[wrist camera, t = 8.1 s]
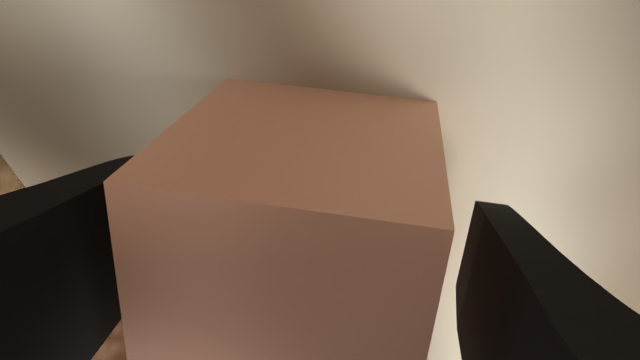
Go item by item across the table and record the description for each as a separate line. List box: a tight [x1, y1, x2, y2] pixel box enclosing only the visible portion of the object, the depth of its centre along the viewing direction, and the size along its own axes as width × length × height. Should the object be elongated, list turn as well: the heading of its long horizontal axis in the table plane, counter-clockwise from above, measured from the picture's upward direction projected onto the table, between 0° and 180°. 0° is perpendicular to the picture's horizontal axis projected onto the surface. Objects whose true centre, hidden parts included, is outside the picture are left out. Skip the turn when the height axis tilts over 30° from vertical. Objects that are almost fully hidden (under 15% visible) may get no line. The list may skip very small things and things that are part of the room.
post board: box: [0, 0, 640, 360], centre depth 11 cm, size 14×14×4 cm
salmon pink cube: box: [103, 78, 455, 360], centre depth 10 cm, size 4×4×5 cm
